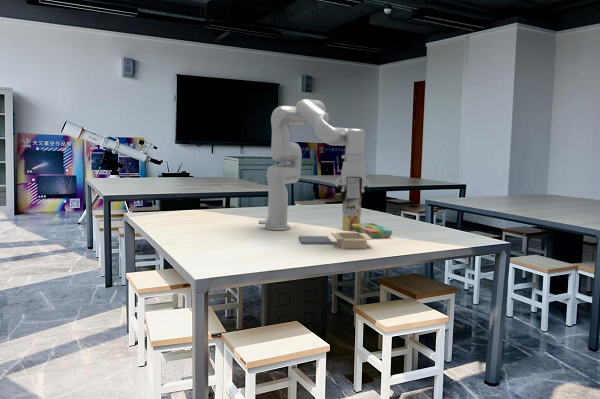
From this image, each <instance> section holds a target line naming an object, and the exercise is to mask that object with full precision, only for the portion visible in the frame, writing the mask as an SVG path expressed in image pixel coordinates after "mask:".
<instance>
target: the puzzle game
mask: <svg viewBox="0 0 600 399" xmlns="http://www.w3.org/2000/svg"><path fill="white" fill-rule="evenodd" d="M352 227H353V228H355V231H354V232H358V233H366V234H367V235H368V236H369V237H371V238H372V239H389V238H390V237H391V236H392V235H393V230H392V229H389V228H387V227H385V226H383V225H378V224H375V223H373V222H372V223H371V222H370V223H366V222H365V223H360V224H352Z"/></svg>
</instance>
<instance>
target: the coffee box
mask: <svg viewBox="0 0 600 399" xmlns="http://www.w3.org/2000/svg"><path fill="white" fill-rule="evenodd" d="M361 191H362V178H361V177H347V184H346V188H345V201H342V214H343V213H344V214H345V215H346V216H360V208H361V209H362V202H361ZM360 217H361V216H360Z"/></svg>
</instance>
